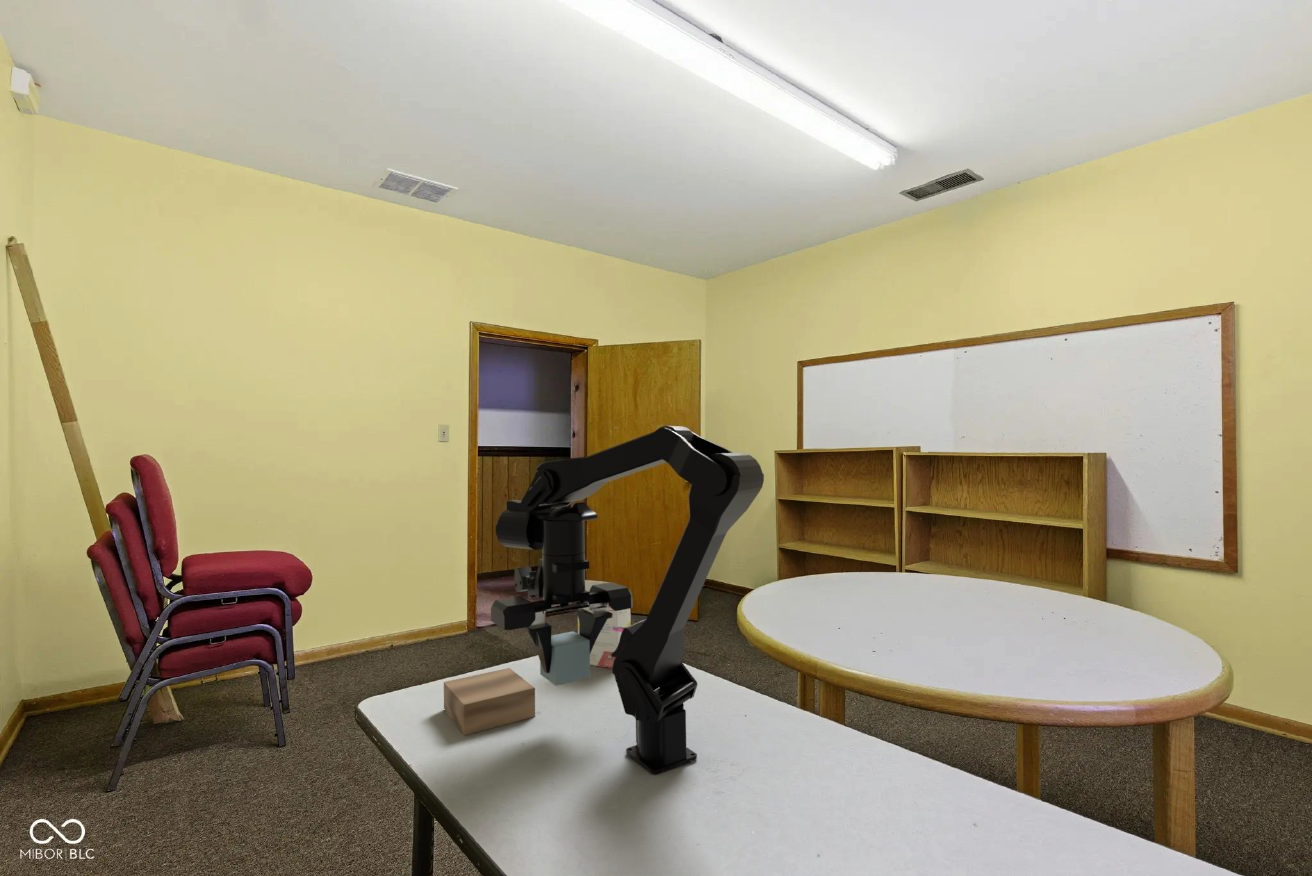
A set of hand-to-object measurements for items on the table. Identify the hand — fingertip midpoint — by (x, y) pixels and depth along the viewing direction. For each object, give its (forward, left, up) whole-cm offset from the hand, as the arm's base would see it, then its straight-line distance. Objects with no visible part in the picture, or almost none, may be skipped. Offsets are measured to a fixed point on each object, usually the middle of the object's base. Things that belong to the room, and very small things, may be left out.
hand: (564, 668), depth 85 cm
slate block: (0, 0, -1) cm, 1 cm away
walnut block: (+11, +7, -8) cm, 15 cm away
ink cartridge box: (+20, -17, -8) cm, 27 cm away
